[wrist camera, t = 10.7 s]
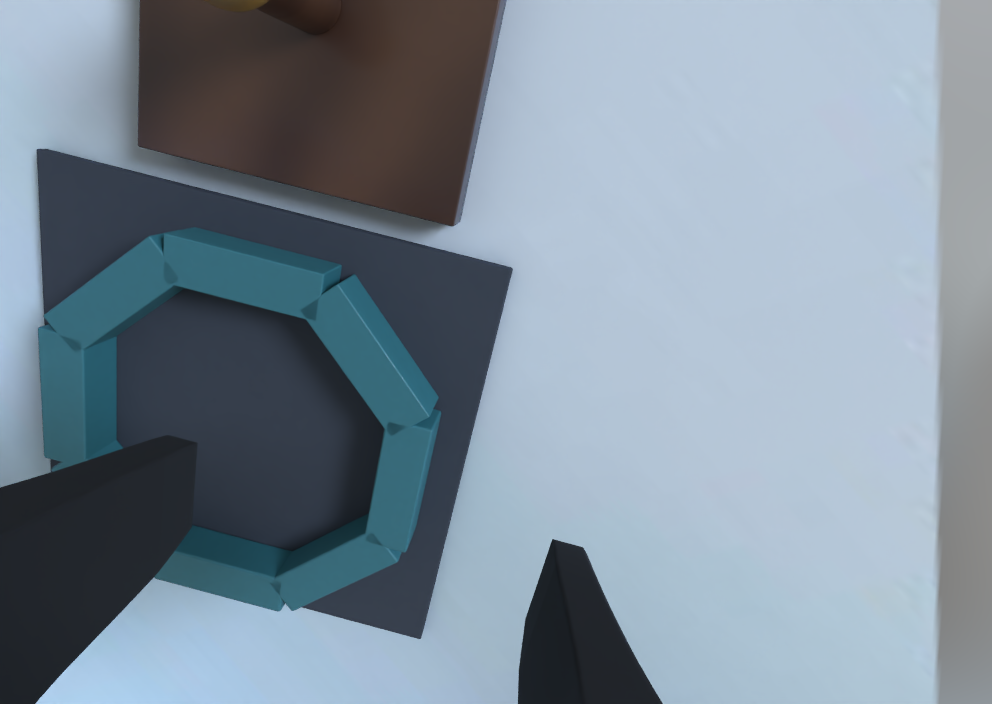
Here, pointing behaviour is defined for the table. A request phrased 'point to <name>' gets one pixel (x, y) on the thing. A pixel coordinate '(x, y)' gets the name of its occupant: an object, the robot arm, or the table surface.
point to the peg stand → (324, 93)
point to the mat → (280, 370)
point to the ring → (277, 287)
